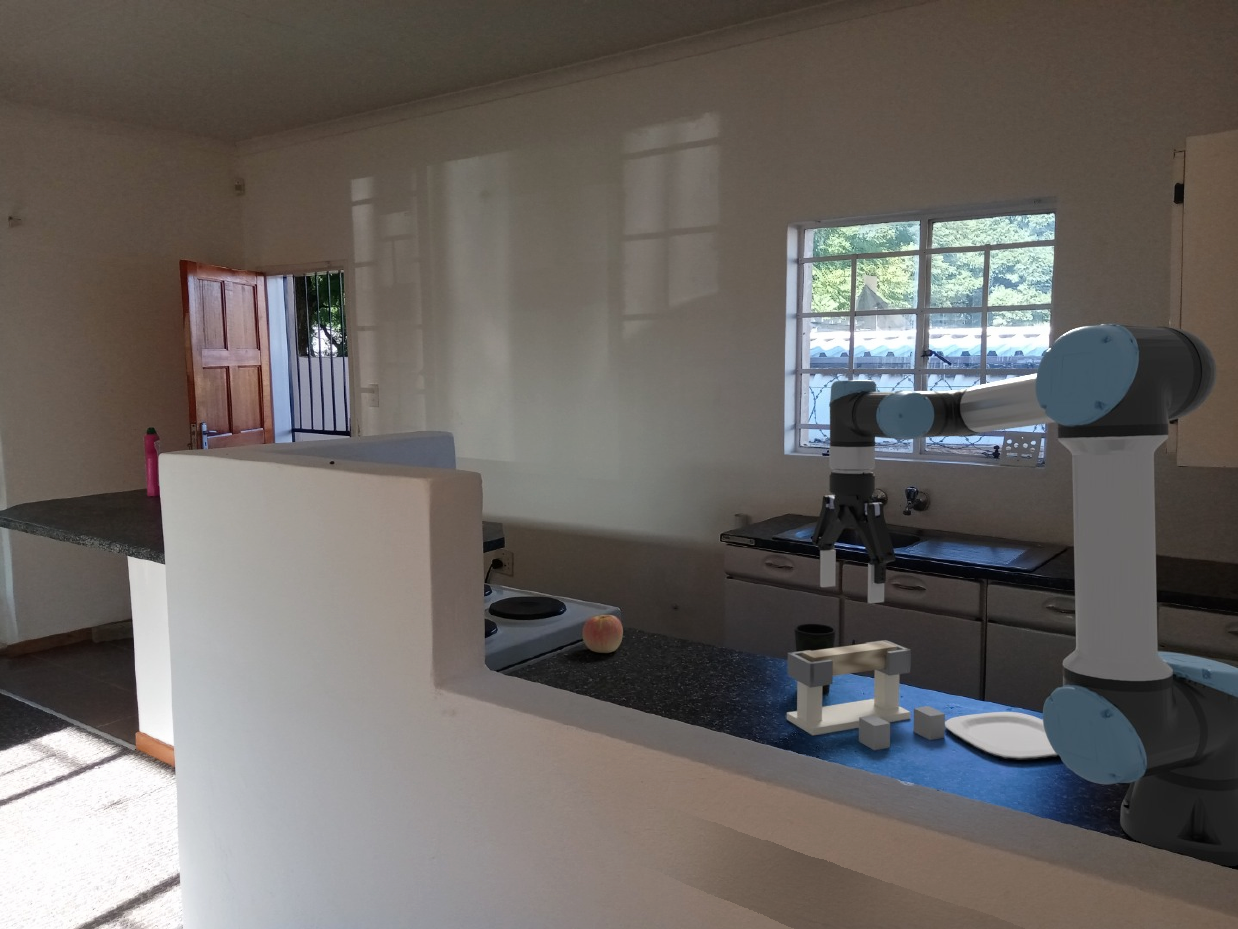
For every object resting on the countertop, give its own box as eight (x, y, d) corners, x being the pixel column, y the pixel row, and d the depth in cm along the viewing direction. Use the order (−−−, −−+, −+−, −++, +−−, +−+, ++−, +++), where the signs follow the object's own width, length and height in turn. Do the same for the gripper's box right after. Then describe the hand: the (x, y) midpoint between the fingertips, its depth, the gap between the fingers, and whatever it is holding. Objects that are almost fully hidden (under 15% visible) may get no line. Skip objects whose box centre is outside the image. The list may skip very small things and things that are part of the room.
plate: (1002, 771, 136) (1002, 760, 136) (930, 728, 154) (931, 718, 154) (1100, 757, 141) (1101, 747, 141) (1020, 717, 158) (1021, 708, 158)
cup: (835, 698, 167) (836, 635, 166) (793, 696, 169) (794, 633, 168) (834, 685, 175) (834, 624, 174) (794, 682, 176) (794, 622, 176)
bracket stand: (911, 718, 157) (913, 651, 156) (811, 735, 149) (812, 665, 148) (882, 703, 164) (883, 639, 163) (785, 719, 157) (785, 652, 156)
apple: (617, 658, 194) (617, 621, 193) (578, 655, 196) (577, 619, 195) (627, 647, 202) (626, 611, 201) (588, 644, 204) (588, 609, 203)
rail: (883, 661, 161) (883, 641, 161) (896, 666, 158) (896, 646, 157) (801, 672, 155) (801, 652, 154) (813, 678, 151) (813, 657, 151)
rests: (944, 737, 148) (945, 713, 148) (874, 750, 143) (874, 726, 143) (927, 729, 152) (928, 706, 152) (858, 741, 147) (859, 717, 147)
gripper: (919, 475, 143) (917, 607, 145) (827, 465, 166) (827, 578, 168) (880, 477, 140) (879, 612, 142) (793, 466, 164) (792, 582, 165)
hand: (850, 594), depth 155 cm, fingers open, 13 cm apart
